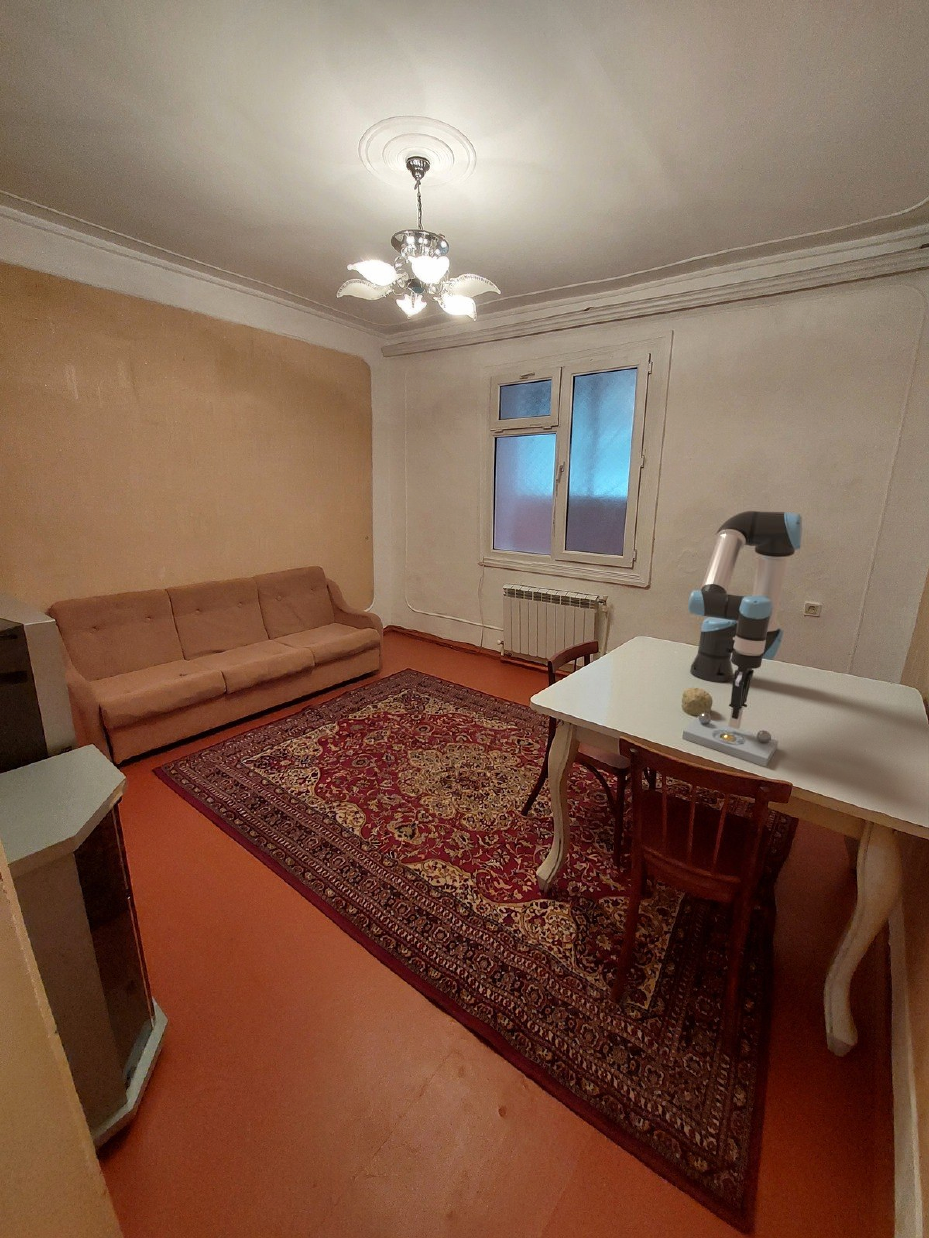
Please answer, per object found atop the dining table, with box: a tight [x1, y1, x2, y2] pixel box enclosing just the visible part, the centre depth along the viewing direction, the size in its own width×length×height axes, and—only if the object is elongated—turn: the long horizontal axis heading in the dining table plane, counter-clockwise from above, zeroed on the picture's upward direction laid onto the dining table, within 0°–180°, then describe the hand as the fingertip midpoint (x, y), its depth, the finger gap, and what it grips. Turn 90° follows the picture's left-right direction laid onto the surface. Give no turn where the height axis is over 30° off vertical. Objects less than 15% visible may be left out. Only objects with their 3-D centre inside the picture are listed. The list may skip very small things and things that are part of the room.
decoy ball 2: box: [756, 730, 772, 743], centre depth 142 cm, size 4×4×4 cm
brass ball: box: [721, 734, 735, 742], centre depth 145 cm, size 4×4×4 cm
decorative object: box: [681, 687, 713, 717], centre depth 167 cm, size 9×10×10 cm
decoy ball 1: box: [699, 713, 712, 724], centre depth 153 cm, size 4×4×4 cm
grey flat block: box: [682, 716, 779, 768], centre depth 147 cm, size 13×22×2 cm, turn 48°
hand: (734, 726), depth 148 cm, fingers closed
